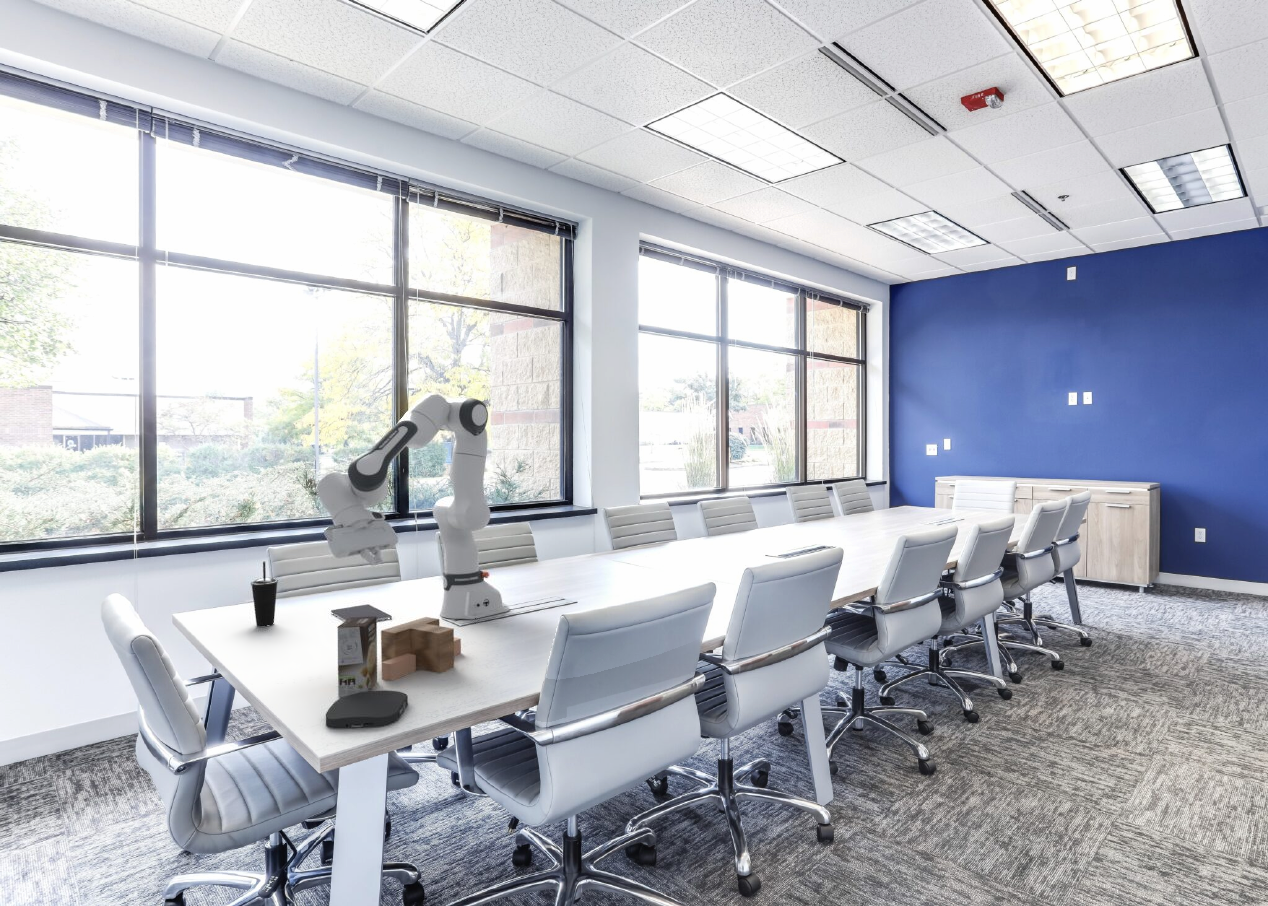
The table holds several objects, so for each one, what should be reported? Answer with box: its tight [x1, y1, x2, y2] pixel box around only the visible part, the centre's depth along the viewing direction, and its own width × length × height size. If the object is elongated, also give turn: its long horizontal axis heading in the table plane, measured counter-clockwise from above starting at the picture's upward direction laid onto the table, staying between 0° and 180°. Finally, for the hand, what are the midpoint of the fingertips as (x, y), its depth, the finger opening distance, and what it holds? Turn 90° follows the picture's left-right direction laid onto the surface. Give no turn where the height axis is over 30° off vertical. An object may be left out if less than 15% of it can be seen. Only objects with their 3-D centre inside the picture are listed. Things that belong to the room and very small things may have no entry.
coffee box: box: [336, 617, 378, 698], centre depth 160 cm, size 9×6×16 cm
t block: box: [380, 616, 455, 674], centre depth 177 cm, size 15×15×10 cm
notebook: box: [330, 604, 393, 622], centre depth 228 cm, size 13×2×21 cm
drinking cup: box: [250, 561, 279, 627], centre depth 218 cm, size 8×8×20 cm
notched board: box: [381, 637, 462, 681], centre depth 178 cm, size 3×24×4 cm, turn 151°
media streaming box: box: [325, 689, 409, 730], centre depth 146 cm, size 15×15×3 cm
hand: (377, 563), depth 188 cm, fingers closed
